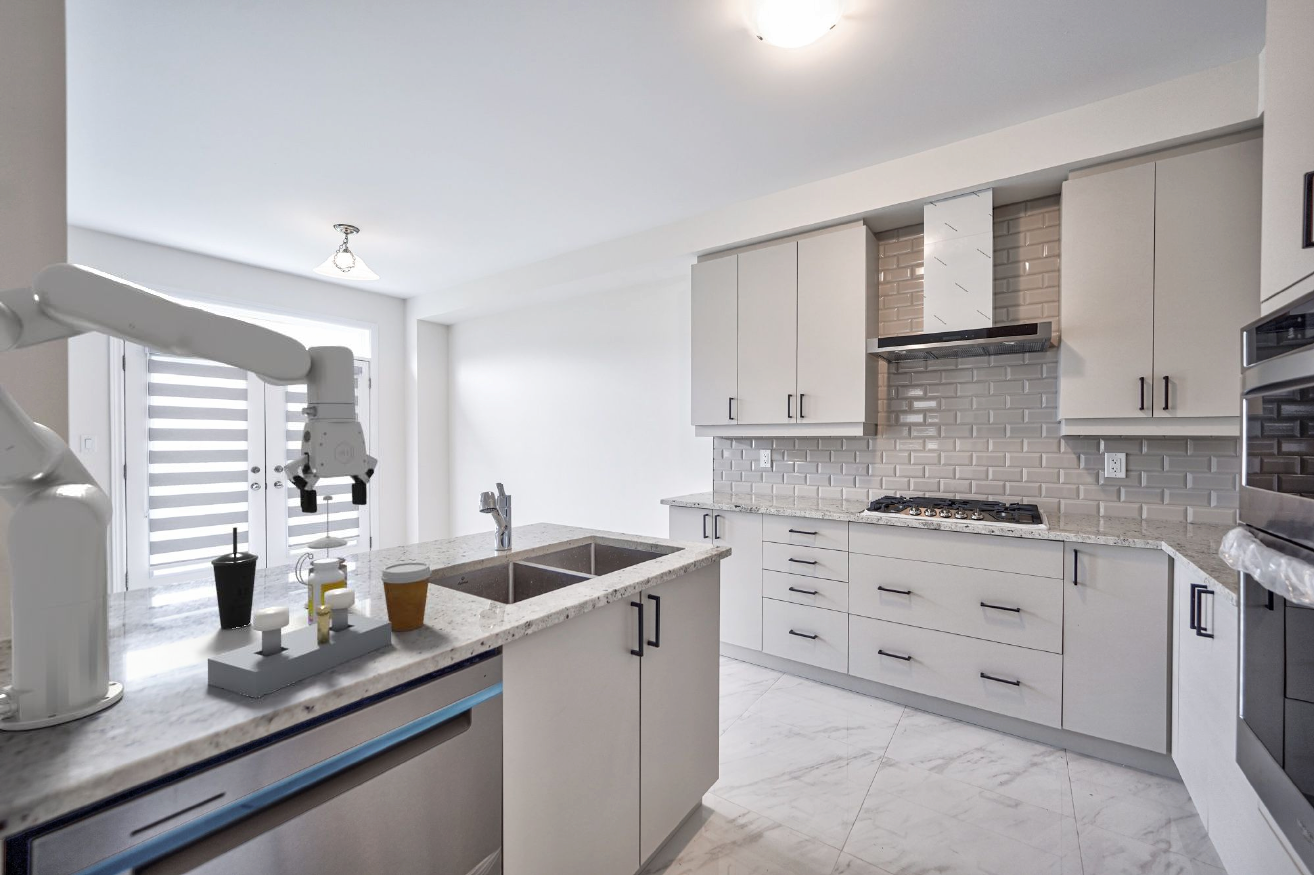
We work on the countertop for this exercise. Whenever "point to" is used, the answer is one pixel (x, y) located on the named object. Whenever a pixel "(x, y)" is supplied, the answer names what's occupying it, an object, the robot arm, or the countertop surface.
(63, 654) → the robot arm
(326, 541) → the french press
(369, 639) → the mount
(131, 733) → the countertop surface
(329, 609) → the brass post
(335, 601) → the knob far
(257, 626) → the knob near
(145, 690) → the countertop surface
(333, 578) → the supplement bottle
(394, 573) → the disposable coffee cup
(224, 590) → the drinking cup
